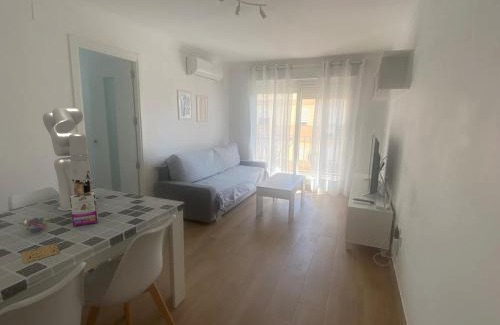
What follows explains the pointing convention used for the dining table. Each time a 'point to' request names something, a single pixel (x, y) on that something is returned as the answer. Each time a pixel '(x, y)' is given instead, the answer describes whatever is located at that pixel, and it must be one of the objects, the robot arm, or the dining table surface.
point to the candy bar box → (84, 209)
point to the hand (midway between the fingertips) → (82, 191)
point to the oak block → (79, 188)
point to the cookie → (40, 253)
